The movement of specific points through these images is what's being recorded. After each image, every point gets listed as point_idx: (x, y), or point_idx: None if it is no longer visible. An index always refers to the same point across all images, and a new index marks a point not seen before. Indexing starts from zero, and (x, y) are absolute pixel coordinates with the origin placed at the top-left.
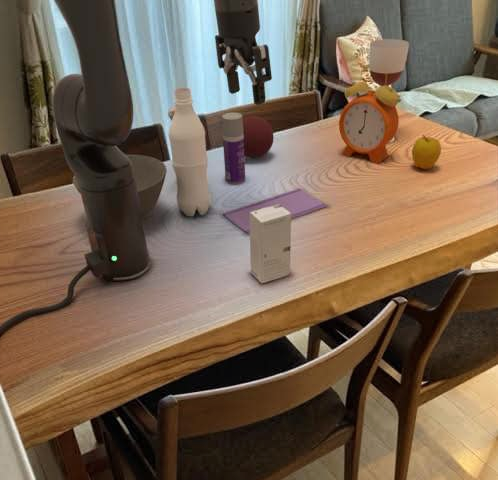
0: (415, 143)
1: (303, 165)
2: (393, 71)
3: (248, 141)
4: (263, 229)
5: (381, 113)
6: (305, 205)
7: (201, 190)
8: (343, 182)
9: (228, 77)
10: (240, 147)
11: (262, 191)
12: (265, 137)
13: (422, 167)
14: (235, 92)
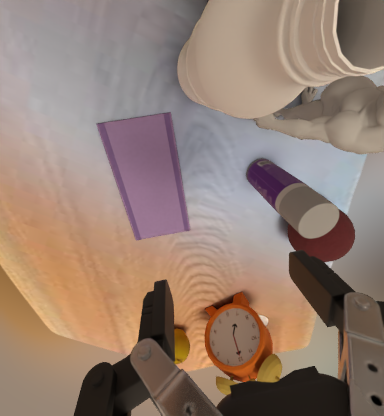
0: (183, 349)
1: (243, 254)
2: None
3: None
4: None
5: (217, 362)
6: (146, 221)
7: (184, 77)
8: (183, 272)
9: (327, 287)
10: (269, 200)
11: (209, 191)
12: (296, 244)
13: None
14: (290, 263)
